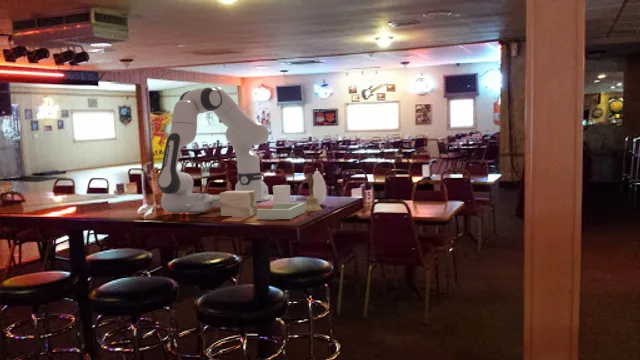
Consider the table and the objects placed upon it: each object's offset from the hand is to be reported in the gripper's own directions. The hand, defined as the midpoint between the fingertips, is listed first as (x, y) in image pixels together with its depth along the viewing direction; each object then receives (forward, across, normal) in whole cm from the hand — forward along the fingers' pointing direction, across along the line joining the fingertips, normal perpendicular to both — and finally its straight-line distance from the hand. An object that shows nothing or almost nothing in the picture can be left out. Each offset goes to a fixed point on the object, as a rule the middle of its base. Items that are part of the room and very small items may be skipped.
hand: (224, 203), depth 236 cm
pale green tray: (+26, 0, +5) cm, 26 cm away
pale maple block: (+6, 0, +5) cm, 8 cm away
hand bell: (+34, +16, +5) cm, 38 cm away
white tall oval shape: (+32, +31, +5) cm, 45 cm away
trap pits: (+2, -5, +5) cm, 7 cm away
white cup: (+18, +21, +5) cm, 28 cm away
